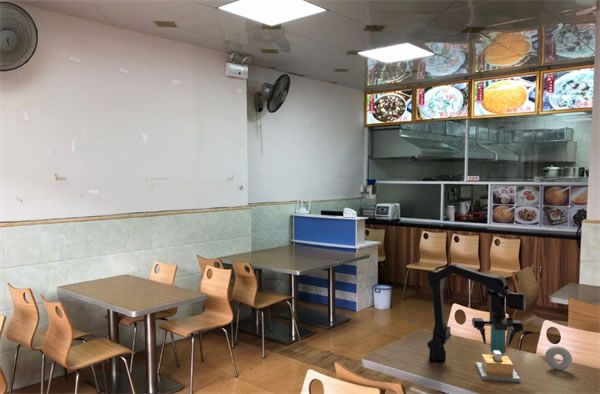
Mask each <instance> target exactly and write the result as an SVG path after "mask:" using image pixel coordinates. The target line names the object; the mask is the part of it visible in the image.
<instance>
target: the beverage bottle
mask: <svg viewBox="0 0 600 394" xmlns="http://www.w3.org/2000/svg"><path fill="white" fill-rule="evenodd" d="M489 332H490V341H489V343H490V344H489V345H490V352H491V353H493V350H498V351H500V352H501V354H502V355H504V354H506V352H507V350H506V347H507V346H506V345H507V344H506V343H507V342H506V340H507V336H506V331H504V330H495V329H494V326H490V331H489Z"/></svg>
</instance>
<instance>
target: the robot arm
mask: <svg viewBox="0 0 600 394" xmlns="http://www.w3.org/2000/svg"><path fill="white" fill-rule="evenodd" d="M451 275H455V276H458V277H462V278H463V279H467V280H469V281H473V282H476V283H478V284H481V285H482V286H484V287H485V288H487V289H488V290H487V291H486V292H485V293H484V295H485V296H489V317H488V318H489V320H484V319H483V318H482V317H473V318H472V319H471V325H472V326H473V328H475V329H476V330H478V331H479V332H480V335H481V338H482V341H483V344H484V345H486V342H487V340H486V339H487V338H486V329H485V327H486V326H487V327H488V326H489V327H491V326H494V329H495V330H504V331H507V346H508V347H510V346H511V344H512V341H513V338H514V337H515V335H516V334H517V333H520V332H521V331H522V332H523V331H524V324H523V323H522V322H521V321H520V320H519V319H513V317H507V315H506V307H507V308H508V309H509V310H515V311H520V312H521V311H522V312H525V311H526V306H527V301H526V297H525V296H526V294H525V293H523V292H519V293H518V292H513V291H512V289H511V288H510V287H509V286H508V284H507V280H506V278H505V277H504V276H502V275H498V274H492V273H483V272H480V271H477V270H474V269H471V268H469V267H464V266H462V265H459V264H457V263H451V264H449V265H447V266H446V267H444V268H443V269H435V270H433V271H431V272H429V273H428V274H427V281H428V285H429V288H430V290H431V293H432V294H431V295H432V304H433V316H434V317H433V318H434V327H433V330H432V338H431V339H430V340H429V341H428V342H426V344H427V348H428V362H430V363H435V364H436V363H439V364H445V363H446V359H447V357H446V356H447V352H446V349H445V346H444V345H445V344H447V342H448V341H450V338H451V337H452V333H451V326H448V325H447V324H446V315H445V314H446V313H445V304H444V303H445V302H444V287H445V281H446V278H447V277H449V276H451Z"/></svg>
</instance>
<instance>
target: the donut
mask: <svg viewBox="0 0 600 394" xmlns="http://www.w3.org/2000/svg"><path fill="white" fill-rule="evenodd" d="M544 355H545V356H544V359H545V362H546V363H547V365H548V366H549V367H550V368H552V369H553V370H557V371H565V370H567V369H568V368H570V367H571V365H572V363H573V357H572V354H571V352H570V351H569V350H568V349H566V348H565V347H563V346H559V345H554V346H550V347H549V348H548V349H546V351H545V353H544ZM556 355H559V356H560V357H562V360H560V361H557V360H556V359H555V356H556Z"/></svg>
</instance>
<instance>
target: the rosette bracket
mask: <svg viewBox="0 0 600 394" xmlns="http://www.w3.org/2000/svg"><path fill="white" fill-rule="evenodd" d="M475 366H476V369H477V371H478V372H479V375H480V377H481V380H484V381H498V382H499V381H500V382H508V383H510V382H511V383H521V378H520V376H519V375H518V373H517V372H516V370H515V368H514V364H513V362H512V361H511V359H510V357H509V356H508V355H502V362H496V361H494V360H493V353H491V354H484V353H483V354H481V362H477V361H476V362H475Z"/></svg>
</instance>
